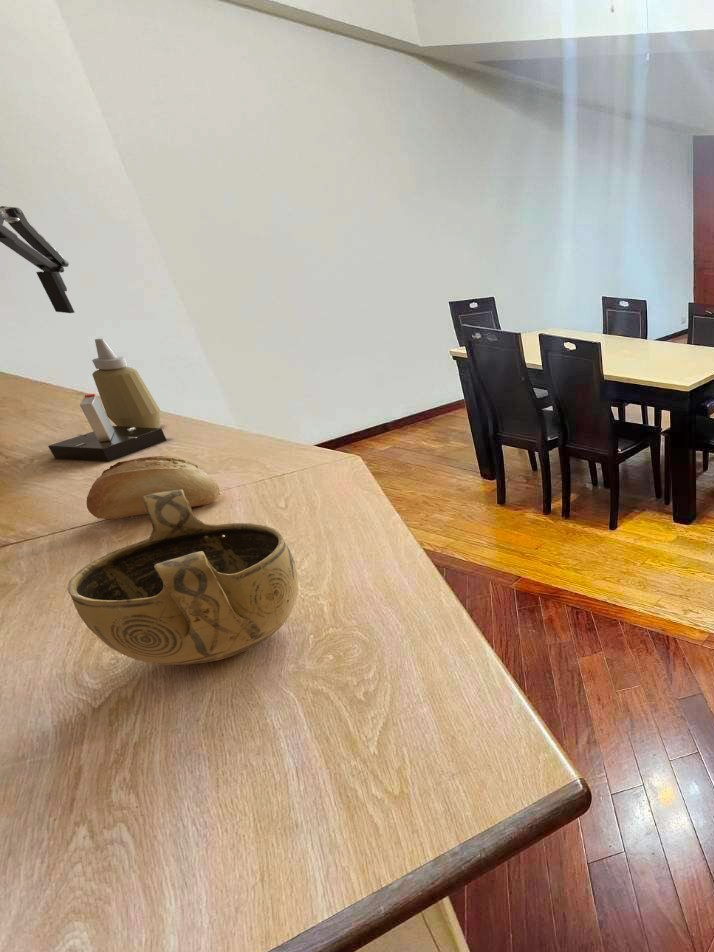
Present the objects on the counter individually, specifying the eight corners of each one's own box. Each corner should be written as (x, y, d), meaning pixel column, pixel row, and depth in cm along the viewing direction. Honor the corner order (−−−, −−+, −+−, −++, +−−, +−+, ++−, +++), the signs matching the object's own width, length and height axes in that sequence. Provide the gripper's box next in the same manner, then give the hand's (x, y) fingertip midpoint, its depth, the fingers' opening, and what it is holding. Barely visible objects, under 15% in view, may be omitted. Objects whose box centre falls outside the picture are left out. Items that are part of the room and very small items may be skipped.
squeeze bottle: (158, 421, 127) (118, 334, 118) (174, 428, 123) (134, 339, 114) (108, 430, 121) (62, 339, 112) (124, 438, 117) (78, 344, 108)
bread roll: (97, 511, 90) (69, 462, 86) (220, 488, 99) (200, 442, 95) (95, 534, 84) (65, 482, 80) (226, 507, 93) (206, 460, 89)
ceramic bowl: (340, 660, 63) (293, 537, 56) (124, 740, 53) (31, 602, 45) (294, 576, 77) (252, 468, 69) (116, 626, 66) (44, 506, 59)
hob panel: (112, 461, 107) (105, 447, 106) (51, 458, 107) (43, 444, 106) (169, 440, 117) (164, 427, 116) (114, 437, 117) (108, 424, 116)
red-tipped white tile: (110, 440, 109) (91, 402, 105) (98, 442, 108) (78, 403, 105) (114, 430, 114) (95, 393, 110) (103, 432, 113) (84, 394, 109)
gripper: (-143, 170, 78) (-44, 336, 89) (56, 175, 99) (116, 308, 110) (-198, 165, 78) (-91, 331, 89) (13, 170, 99) (77, 304, 110)
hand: (23, 319), depth 100 cm, fingers open, 13 cm apart
